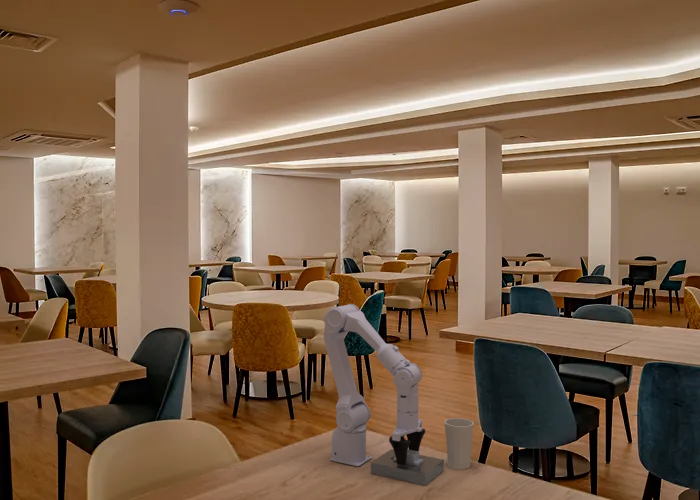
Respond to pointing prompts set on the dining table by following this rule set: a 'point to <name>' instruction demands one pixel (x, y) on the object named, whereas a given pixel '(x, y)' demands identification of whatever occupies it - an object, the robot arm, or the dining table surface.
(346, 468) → the dining table surface
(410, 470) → the chassis
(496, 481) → the dining table surface
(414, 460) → the block
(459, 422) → the cup
